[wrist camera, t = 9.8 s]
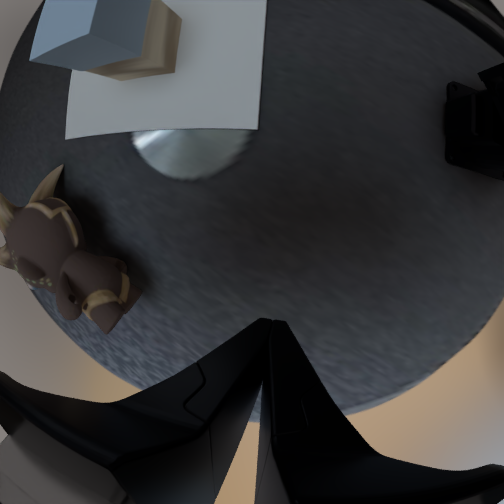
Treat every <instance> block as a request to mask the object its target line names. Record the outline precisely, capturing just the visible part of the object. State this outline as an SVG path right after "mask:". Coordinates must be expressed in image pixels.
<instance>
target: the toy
mask: <svg viewBox="0 0 504 504" xmlns="http://www.w3.org/2000/svg"><path fill="white" fill-rule="evenodd" d="M63 166H64V164H62V165H61V166H59V167H57V168H56V169H55V170H53V171H52V172H51V173H49V174H48V175H47V176H46V177H45V179H44V180H43V181H42V182H41V183H40V184H39V186H38V187H37V189H36V190H35V192H34V193H33V195H32V197H31V199H30V201H29V203H28V205H26V206H24V207H17V206H15V205H13V204H12V203H10V202H9V201H8V200H7V199H6V198H5V197H4V196H3V195H2V193H1V192H0V230H1V231H2V233H3V234H4V235H5V237H6V239H7V242H6V244H5V245H4V246H3V247H1V248H0V265H3V266H4V267H6V268H9V269H13V270H16V271H17V272H18V273H19V274H20V275H21V277H22V278H23V279H24V280H25V281H26V282H27V284H28V286H29V288H30V289H32V290H36V289H39V288H45V289H47V290H48V291H50V292H52V293H56V303H57V306H58V309H59V312H60V313H61V315H62V316H63V317H64V318H65V319H67V320H75V319H77V318H78V317H79V316H80V315H81V313H82V312H84V313H85V314H86V315H87V317H88V318H89V319H91V320H92V321H94V322H95V323H96V324H97V325H98V326H99V328H100V329H101V330H102V331H103V332H104V333H105V334H108V333H109V332H110V331H111V330H112V329H113V328H114V327H115V325H116V324H117V323H118V321H119V320H120V319H121V317H122V316H123V314H126V313H127V312H128V311H129V310H130V309H131V308H132V306H133V305H134V304H135V303H136V301H137V300H138V299H139V297H140V296H141V294H142V291H141V290H140V289H139V288H137V287H136V286H134V285H133V284H131V283H130V282H129V277H128V276H127V275H126V274H127V266H126V264H125V263H124V262H123V261H121V260H120V259H117V258H114V257H110V256H95V255H93V254H91V253H89V252H86V250H87V244H86V241H85V240H84V234H83V230H82V227H81V224H80V222H79V220H78V218H77V217H76V215H75V214H74V213H73V212H72V210H71V208H70V207H69V206H68V205H67V203H65V202H64V201H62V200H61V199H58V198H53V193H54V189H55V186H56V183H57V181H58V178H59V176H60V174H61V171H62V169H63ZM75 303H76V304H75Z"/></svg>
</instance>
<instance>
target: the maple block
mask: <svg viewBox="0 0 504 504" xmlns="http://www.w3.org/2000/svg"><path fill="white" fill-rule="evenodd" d="M181 23H182V19H181V18H180V17H179V16H178V15H177V14H176V13H175V12H174V11H173V10H172V9H170V8H169V7H168V6H167V5H166V4H165V3H164V2H162V1H161V0H151V4H150V8H149V13H148V18H147V23H146V29H145V34H144V40H143V46H142V53H141V56H140V57H135V58H131V59H126V60H122V61H118V62H114V63H110V64H106V65H103V66H99V67H96V68H92V69H89V70H86V72H90V73H94V74H98V75H101V76H105V77H109V78H112V79H116V80H119V81H125V80H130V79H136V78H141V77H148V76H154V75H162V74H170V73H175V67H176V58H177V50H178V43H179V36H180V29H181Z"/></svg>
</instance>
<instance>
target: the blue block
mask: <svg viewBox="0 0 504 504" xmlns="http://www.w3.org/2000/svg"><path fill="white" fill-rule="evenodd" d="M150 4H151V0H46V2H45V4H44V7H43V10H42V14H41V17H40V20H39V23H38V27H37V31H36V34H35V38H34V42H33V46H32V51H31V55H30V60H29V61H33V62H38V63H44V64H49V65H55V66H59V67H64V68H69V69H73V70H78V71H86V70H89V69H92V68H96V67H99V66H103V65H106V64H110V63H114V62H118V61H122V60H126V59H131V58H135V57H140V56H141V53H142V46H143V40H144V34H145V29H146V23H147V18H148V13H149V8H150Z"/></svg>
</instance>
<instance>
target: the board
mask: <svg viewBox="0 0 504 504" xmlns="http://www.w3.org/2000/svg"><path fill="white" fill-rule="evenodd" d="M161 1H162V2H164V3H165V4H166V5H167V6H168V7H169V8H170V9H172V10H173V11H174V12H175V13H176V14H177V15H178V16H179V17H180V18H181V19H182V23H181V29H180V36H179V43H178V50H177V58H176V67H175V73H170V74H162V75H154V76H148V77H141V78H136V79H130V80H125V81H119V80H116V79H112V78H109V77H105V76H101V75H98V74H94V73H90V72H86V71H78V70H73V69H72V74H71V81H70V89H69V98H68V108H67V120H66V139H74V138H80V137H87V136H95V135H103V134H112V133H122V132H134V131H147V130H166V129H248V130H258V126H259V112H260V97H261V83H262V69H263V55H264V41H265V27H266V13H267V0H161Z"/></svg>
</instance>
